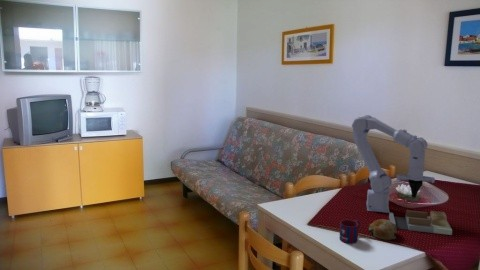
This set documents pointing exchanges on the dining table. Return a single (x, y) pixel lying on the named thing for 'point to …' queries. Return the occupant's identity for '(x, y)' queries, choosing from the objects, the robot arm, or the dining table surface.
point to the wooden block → (438, 218)
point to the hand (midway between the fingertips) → (413, 196)
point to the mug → (349, 231)
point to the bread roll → (383, 229)
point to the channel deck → (418, 223)
